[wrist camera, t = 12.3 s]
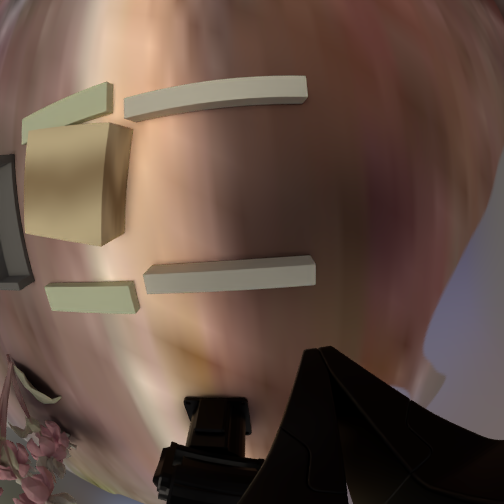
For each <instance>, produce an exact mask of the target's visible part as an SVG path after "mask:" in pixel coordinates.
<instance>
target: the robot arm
mask: <svg viewBox="0 0 504 504" xmlns="http://www.w3.org/2000/svg"><path fill="white" fill-rule="evenodd" d="M242 402H243V403H242ZM184 405H185V408H186V411H187V414H188V416H189V419H190V421H191V423H190V428H189V432H188V437H187V442H186V446H183V445H179V444H177V443H175V442H171V446H170V447H167V448H163V450H162V453H161V457H160V461H159V463H158V466H157V469H156V471H155V474H154V477H153V483H154V484H155V485H156V487H157V491H158V492H159V494H158V499H161V500H165V501H167V503H166V504H349V503H348V496H347V486H348V489H349V492H350V495H351V499H352V502H353V504H504V440H494V439H489V438H486V437H483V436H481V435H478V434H476V433H474V432H471V431H469V430H467V429H465V428H462V427H460V426H458V425H456V424H454V423H451V422H449V421H447V420H445V419H443V418H441V417H439V416H437V415H435V414H433V413H432V412H430V411H428V410H427V409H425V408H424V407H422V406H420V405H419V404H417V403H416V402H414V401H412V400H411V401H410V399H409V398H408V397H406V396H405V395H403V394H401V393H400V392H399V391H397V390H395V389H394V388H392V387H391V386H389V385H388V384H386V383H385V382H383V381H382V380H380V379H379V378H377V377H376V376H375V375H373V374H372V373H370V372H369V371H367V370H366V369H364V368H363V367H361V366H360V365H358V364H357V363H355V362H354V361H352V360H351V359H350V358H348V357H347V356H345V355H344V354H342V353H341V352H339V351H338V350H337V349H335V348H334V347H332V346H327V347H320V348H319V349H317V348H313V349H306V350H304V351H303V354H302V358H301V361H300V365H299V368H298V371H297V375H296V378H295V381H294V384H293V388H292V391H291V394H290V397H289V400H288V403H287V406H286V409H285V412H284V415H283V418H282V421H281V424H280V426H279V429H278V431H277V434H276V437H275V440H274V442H273V444H272V447H271V449H270V451H269V453H268V456H267V457H266V459H265V460H264V459H252V458H245V435H250V434H251V433H252V430H251V423H250V415H249V408H248V401H247V399H245V398H191V397H186V398H185V399H184ZM346 483H347V486H346Z"/></svg>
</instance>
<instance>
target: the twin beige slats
mask: <svg viewBox="0 0 504 504" xmlns="http://www.w3.org/2000/svg"><path fill="white" fill-rule="evenodd" d="M307 97H308V92H307V83H306V76H259V77H243V78H231V79H222V80H213V81H205V82H198V83H192V84H186V85H180V86H175V87H170V88H165V89H160V90H155V91H151V92H147V93H143V94H139V95H135V96H131V97H127V98H124V118H125V119H127V120H130V121H133V122H139V121H144V120H149V119H153V118H158V117H163V116H169V115H174V114H180V113H186V112H193V111H200V110H207V109H216V108H225V107H236V106H248V105H266V104H303V102H304V101H305V100H306V99H307ZM143 277H144V282H145V287H146V291H147V294H164V293H194V292H216V291H236V290H253V289H268V288H282V287H296V286H308V285H316V264H315V262H314V261H313V259H312V258H311V256H310V255H306V256H291V257H276V258H261V259H246V260H231V261H215V262H199V263H182V264H165V265H152V266H151V267H150V268H149V269H148V270H147V271H146V272H145V273H144V274H143Z"/></svg>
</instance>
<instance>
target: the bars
mask: <svg viewBox="0 0 504 504" xmlns="http://www.w3.org/2000/svg"><path fill="white" fill-rule="evenodd" d="M111 113H113V85H112V84H111V83H109V82H104V83H101V84H99V85H96V86H93V87H91V88H88V89H85V90H83V91H80V92H78V93H75V94H73V95H71V96H68V97H66V98H64V99H62V100H59V101H57V102H55V103H53V104H51V105H49V106H47V107H45V108H43V109H41V110H39V111H37V112H35V113H33V114H31V115H29V116H27V117H26V118H24V119H22V145H27V140H28V132H29V131H31V130H37V129H44V128H51V127H59V126H69V125H77V124H80V123H83V122H86V121H89V120H92V119H95V118H98V117H101V116H105V115H108V114H111ZM44 288H45V291H46V294H47V297H48V300H49V303H50V306H51V309H52V311H67V312H86V313H113V314H136V313H137V311H138V310H139V309H140V307H139V303H138V299H137V295H136V291H135V287H134V282H133V281H119V282H80V283H49V284H48V285H46V286H45V287H44Z"/></svg>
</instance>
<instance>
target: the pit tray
mask: <svg viewBox="0 0 504 504" xmlns="http://www.w3.org/2000/svg"><path fill="white" fill-rule="evenodd" d="M32 282H34V277H33V274H32V270H31V266H30V262H29V258H28V254H27V250H26V246H25V241H24V236H23V231H22V225H21V219H20V213H19V206H18V198H17V189H16V178H15V161H14V154H10V155H0V290H21V289H23V288H24V287H26V286H27V285H29V284H30V283H32Z"/></svg>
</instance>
